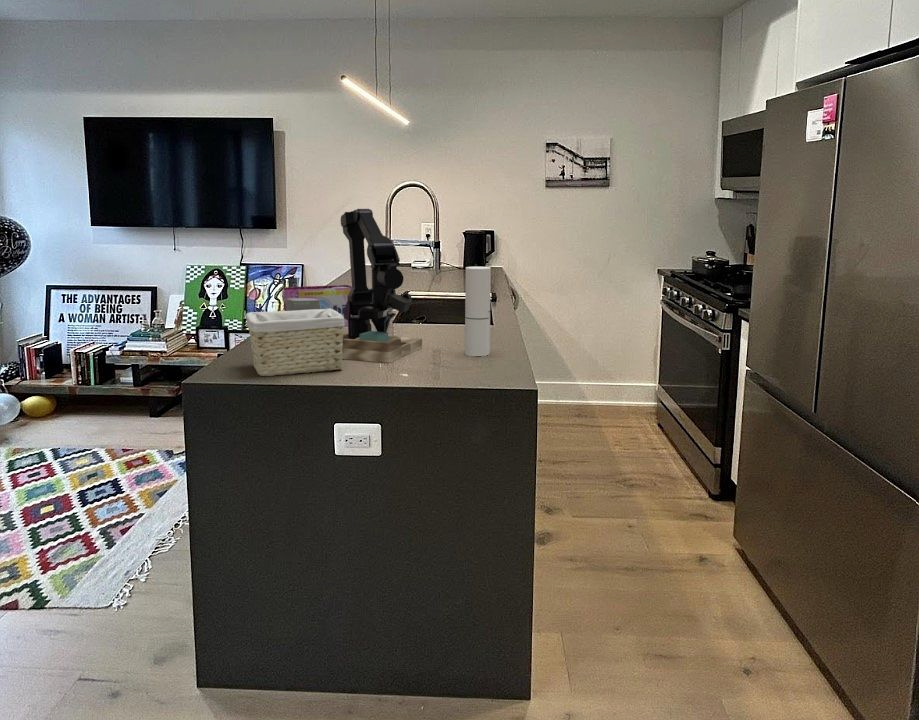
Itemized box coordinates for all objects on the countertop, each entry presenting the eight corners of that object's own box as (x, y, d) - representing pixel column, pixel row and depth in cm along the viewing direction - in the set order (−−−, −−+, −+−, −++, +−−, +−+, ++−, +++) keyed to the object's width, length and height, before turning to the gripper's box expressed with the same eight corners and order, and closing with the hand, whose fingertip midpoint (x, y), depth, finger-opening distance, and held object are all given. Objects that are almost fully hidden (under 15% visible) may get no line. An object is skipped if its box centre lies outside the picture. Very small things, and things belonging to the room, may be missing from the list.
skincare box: (293, 356, 232) (291, 300, 229) (286, 351, 239) (284, 297, 235) (322, 353, 236) (320, 299, 233) (314, 349, 242) (312, 296, 239)
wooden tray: (331, 357, 231) (331, 338, 229) (368, 343, 251) (368, 326, 249) (389, 363, 224) (388, 343, 223) (422, 348, 244) (422, 330, 243)
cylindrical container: (492, 352, 239) (493, 267, 234) (485, 357, 232) (486, 269, 227) (469, 350, 241) (470, 266, 236) (461, 355, 235) (462, 268, 229)
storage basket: (254, 378, 206) (251, 320, 203) (247, 365, 221) (244, 311, 218) (347, 372, 214) (346, 316, 211) (334, 359, 229) (333, 307, 226)
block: (359, 344, 234) (359, 334, 234) (370, 340, 239) (370, 330, 239) (377, 346, 232) (377, 335, 231) (388, 342, 237) (388, 332, 236)
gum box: (284, 330, 273) (282, 289, 270) (280, 326, 280) (279, 287, 278) (354, 326, 281) (353, 287, 278) (349, 322, 288) (348, 284, 286)
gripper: (392, 290, 224) (393, 346, 228) (420, 282, 241) (420, 334, 245) (356, 288, 228) (358, 343, 232) (386, 281, 245) (387, 332, 249)
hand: (382, 338), depth 239 cm, fingers closed
